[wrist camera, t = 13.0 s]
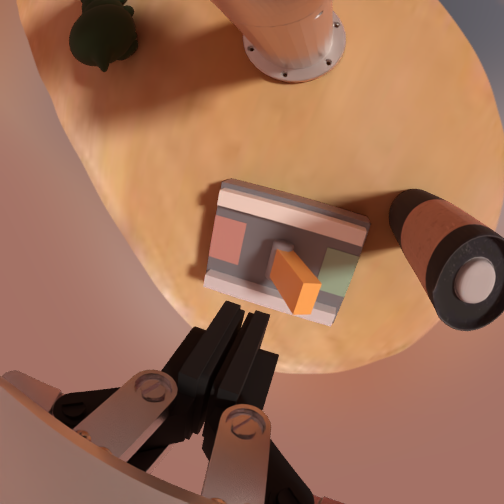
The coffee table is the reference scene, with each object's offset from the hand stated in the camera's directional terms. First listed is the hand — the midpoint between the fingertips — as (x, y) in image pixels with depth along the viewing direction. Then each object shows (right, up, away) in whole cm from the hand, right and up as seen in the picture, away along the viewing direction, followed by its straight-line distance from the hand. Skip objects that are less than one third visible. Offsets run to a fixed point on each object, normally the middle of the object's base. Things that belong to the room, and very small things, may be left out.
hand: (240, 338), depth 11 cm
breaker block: (+5, +4, +29) cm, 30 cm away
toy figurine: (-20, +39, +23) cm, 50 cm away
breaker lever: (+3, +3, +26) cm, 26 cm away
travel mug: (+21, +8, +23) cm, 32 cm away
